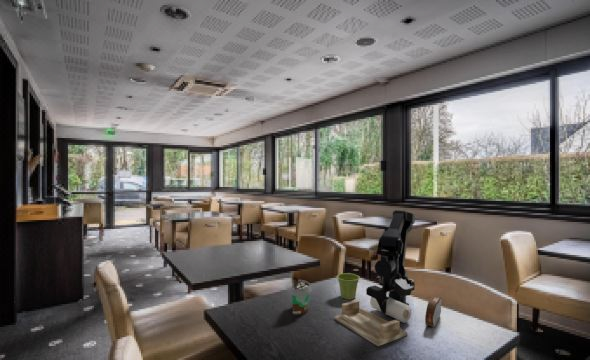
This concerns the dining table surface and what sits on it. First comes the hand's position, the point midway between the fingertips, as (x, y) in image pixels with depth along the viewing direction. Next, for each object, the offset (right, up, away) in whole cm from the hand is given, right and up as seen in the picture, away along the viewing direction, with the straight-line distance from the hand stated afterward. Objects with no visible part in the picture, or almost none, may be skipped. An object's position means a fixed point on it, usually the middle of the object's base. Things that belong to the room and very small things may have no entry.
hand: (389, 311), depth 114 cm
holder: (-10, -2, -8) cm, 13 cm away
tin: (+14, -2, -4) cm, 15 cm away
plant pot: (-12, -2, +18) cm, 22 cm away
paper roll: (0, -1, 0) cm, 1 cm away
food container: (-32, -2, +4) cm, 32 cm away
